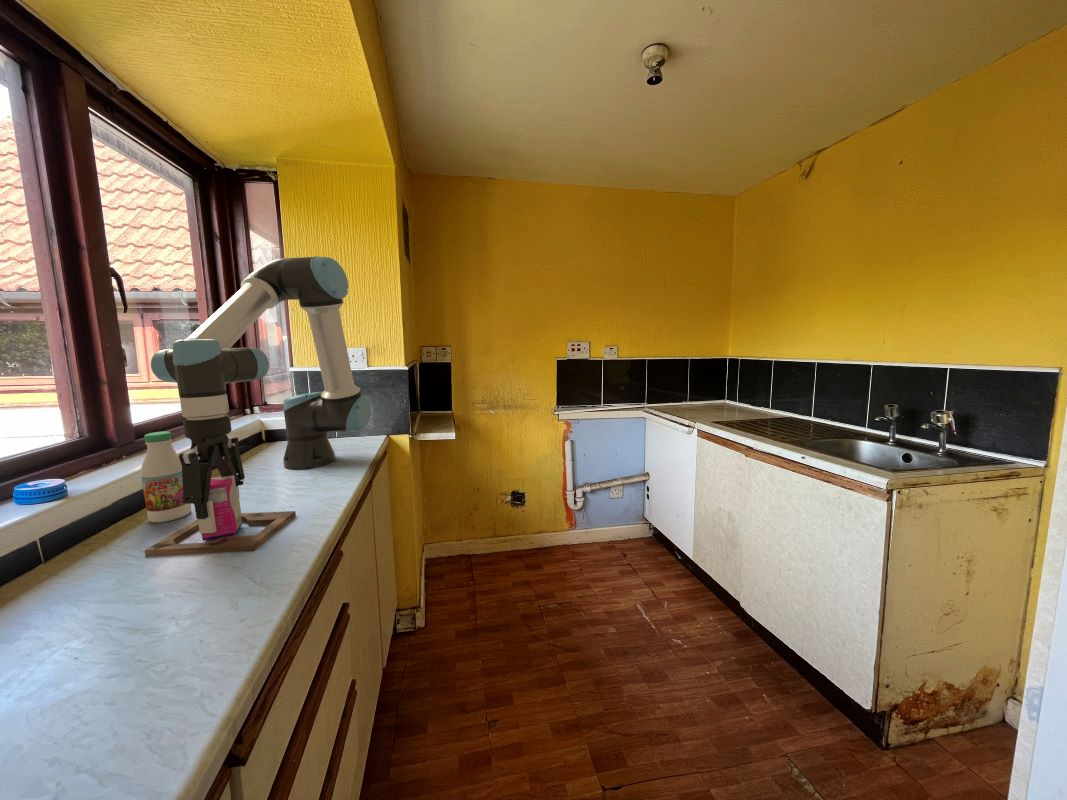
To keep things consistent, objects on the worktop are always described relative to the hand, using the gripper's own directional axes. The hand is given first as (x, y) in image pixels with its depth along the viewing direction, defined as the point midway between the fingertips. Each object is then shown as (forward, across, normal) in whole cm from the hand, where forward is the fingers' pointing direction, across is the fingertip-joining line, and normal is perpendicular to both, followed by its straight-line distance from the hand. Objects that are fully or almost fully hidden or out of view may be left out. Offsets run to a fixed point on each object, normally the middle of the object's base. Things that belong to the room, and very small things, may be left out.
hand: (221, 523), depth 87 cm
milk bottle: (+3, -11, -19) cm, 22 cm away
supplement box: (+2, 0, 0) cm, 2 cm away
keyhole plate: (+2, 0, +1) cm, 3 cm away
